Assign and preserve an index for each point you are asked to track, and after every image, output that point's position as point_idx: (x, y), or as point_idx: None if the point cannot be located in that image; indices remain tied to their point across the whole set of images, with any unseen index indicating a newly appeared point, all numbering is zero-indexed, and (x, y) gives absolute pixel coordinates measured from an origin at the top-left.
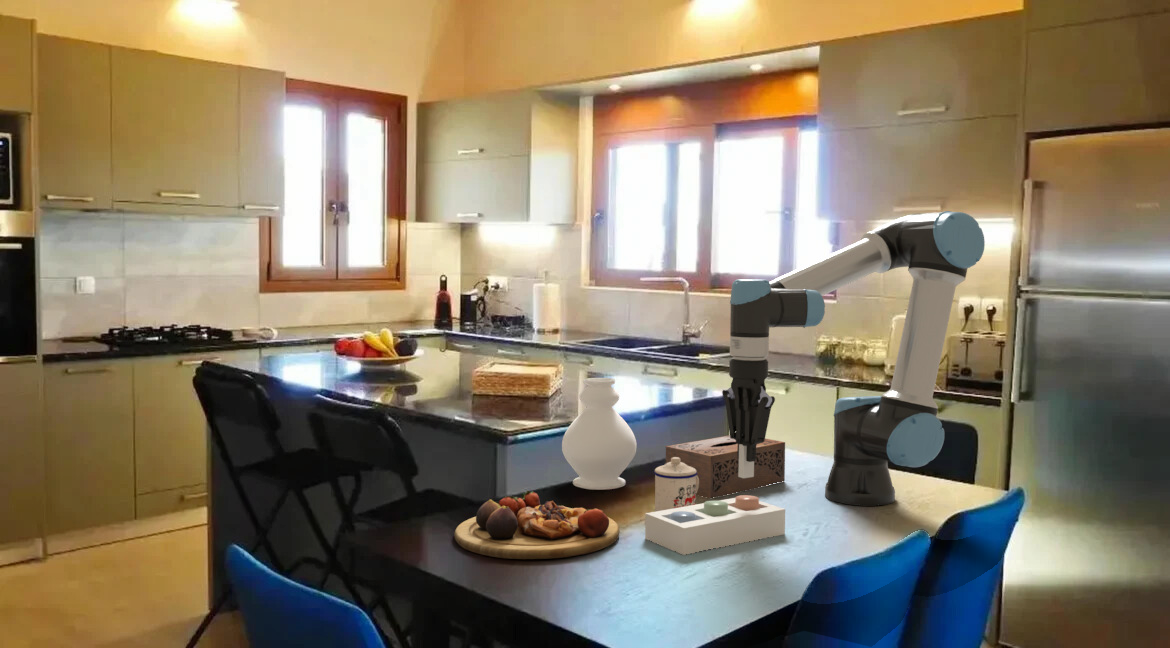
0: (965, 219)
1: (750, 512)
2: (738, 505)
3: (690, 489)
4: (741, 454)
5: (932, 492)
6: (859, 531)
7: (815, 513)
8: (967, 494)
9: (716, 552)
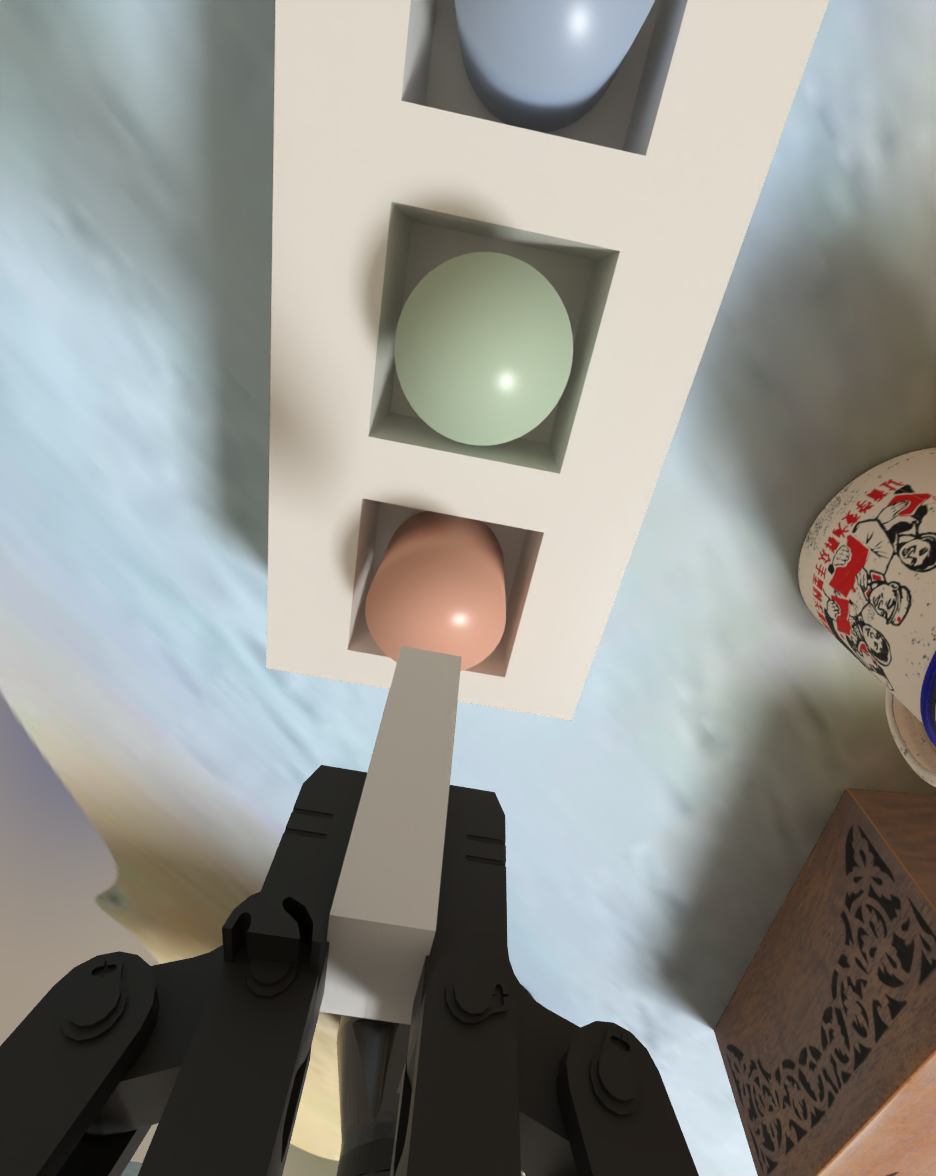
0: None
1: (323, 493)
2: (447, 538)
3: (882, 610)
4: (403, 809)
5: None
6: (185, 790)
7: None
8: None
9: (274, 62)
